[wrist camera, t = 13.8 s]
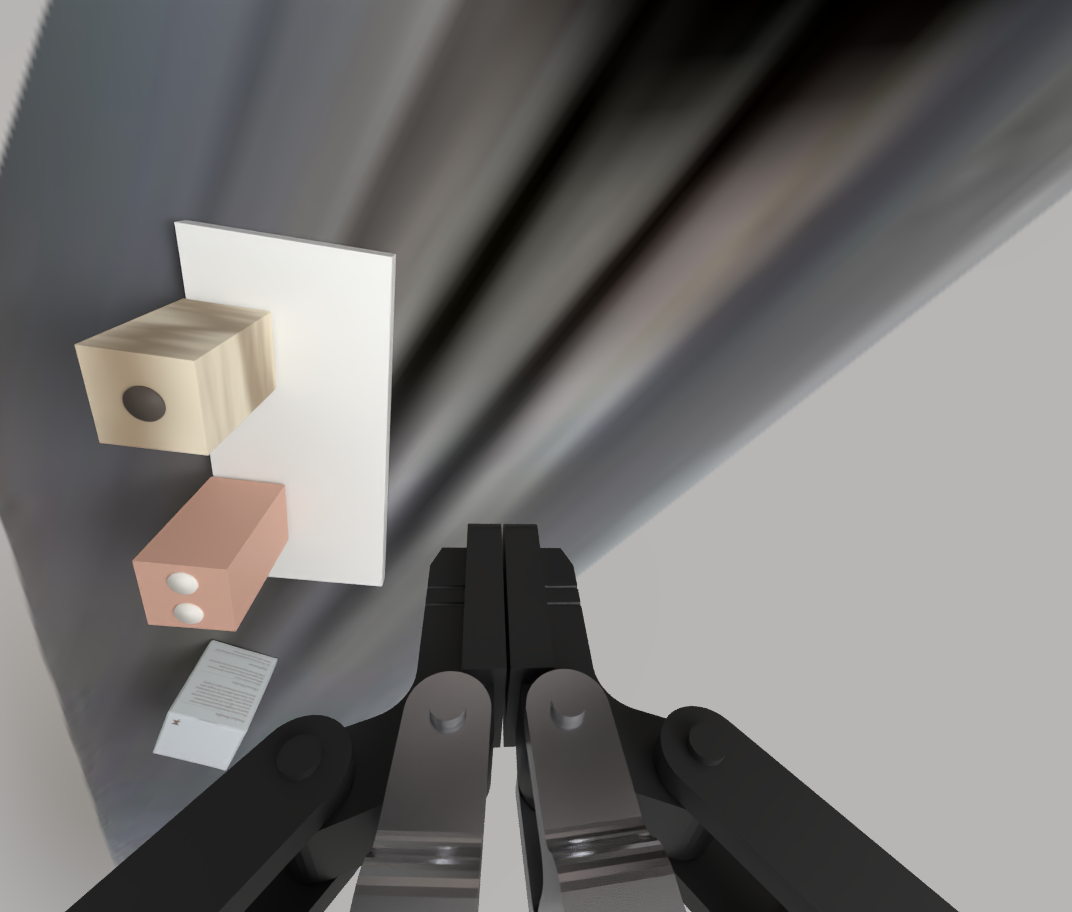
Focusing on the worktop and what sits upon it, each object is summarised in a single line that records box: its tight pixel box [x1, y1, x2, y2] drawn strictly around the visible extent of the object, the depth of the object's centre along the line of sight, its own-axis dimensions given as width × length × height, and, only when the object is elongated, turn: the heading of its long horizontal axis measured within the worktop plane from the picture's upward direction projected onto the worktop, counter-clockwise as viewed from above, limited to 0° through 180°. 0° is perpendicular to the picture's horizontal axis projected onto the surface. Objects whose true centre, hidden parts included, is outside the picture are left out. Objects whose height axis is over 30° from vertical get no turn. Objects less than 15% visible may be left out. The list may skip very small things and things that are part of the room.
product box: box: [153, 640, 278, 770], centre depth 46 cm, size 6×6×7 cm
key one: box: [75, 298, 276, 455], centre depth 29 cm, size 5×5×9 cm
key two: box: [132, 477, 289, 631], centre depth 35 cm, size 5×5×9 cm
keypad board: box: [174, 220, 396, 586], centre depth 37 cm, size 26×12×1 cm, turn 171°
